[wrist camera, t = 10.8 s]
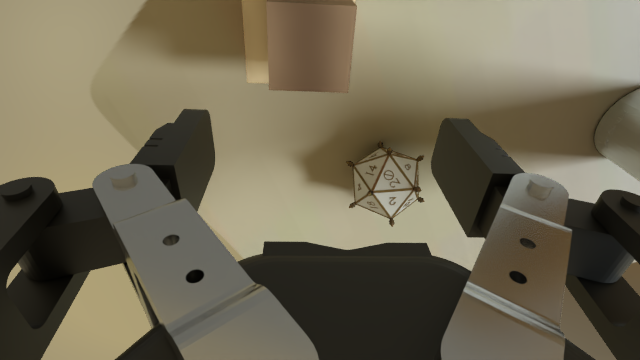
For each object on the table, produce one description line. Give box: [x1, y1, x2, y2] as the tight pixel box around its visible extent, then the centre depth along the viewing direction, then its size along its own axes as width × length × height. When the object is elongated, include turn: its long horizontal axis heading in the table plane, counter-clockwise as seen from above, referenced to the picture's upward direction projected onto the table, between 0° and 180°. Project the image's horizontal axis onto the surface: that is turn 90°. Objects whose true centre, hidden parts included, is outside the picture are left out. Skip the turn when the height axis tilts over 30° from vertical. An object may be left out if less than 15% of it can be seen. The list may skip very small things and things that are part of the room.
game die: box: [346, 141, 425, 227], centre depth 38 cm, size 9×8×10 cm
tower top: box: [241, 0, 356, 84], centre depth 27 cm, size 8×8×4 cm
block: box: [266, 0, 357, 93], centre depth 23 cm, size 5×5×6 cm
